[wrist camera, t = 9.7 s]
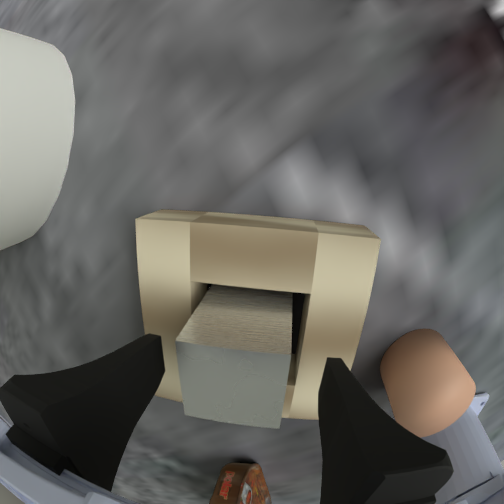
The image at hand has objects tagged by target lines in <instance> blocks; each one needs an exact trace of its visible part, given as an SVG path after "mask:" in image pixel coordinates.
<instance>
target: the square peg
mask: <svg viewBox="0 0 504 504" xmlns="http://www.w3.org/2000/svg"><path fill="white" fill-rule="evenodd" d="M291 343H292V292H287V291H276V290H266V289H256V288H246V287H237V286H228V285H219V284H212V286H211V287H210V289H209V290H208V292H207V293H206V295H205V296H204V298H203V299H202V301H201V302H200V304H199V305H198V307H197V308H196V310H195V311H194V313H193V314H192V316H191V317H190V319H189V320H188V322H187V323H186V325H185V326H184V328H183V329H182V331H181V332H180V334H179V335H178V337H177V338H176V340H175V345H176V354H177V362H178V370H179V378H180V385H181V392H182V399H183V405H184V412H185V415H188V416H193V417H198V418H203V419H208V420H214V421H220V422H226V423H233V424H240V425H248V426H256V427H266V428H277V429H279V428H280V423H281V417H282V411H283V405H284V399H285V393H286V386H287V380H288V373H289V366H290V360H291Z"/></svg>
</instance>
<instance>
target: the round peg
mask: <svg viewBox="0 0 504 504" xmlns="http://www.w3.org/2000/svg"><path fill="white" fill-rule="evenodd" d="M380 374H381V378H382V380H383V383H384V386H385V389H386V392H387V395H388V398H389V401H390V404H391V407H392V410H393V414H394V417H395V420H396V422H397V423H399V424H400V425H401V426H403V427H404V428H405V429H407V430H408V431H410V432H411V433H413V434H415V435H416V436H418V437H420V438H421V437H426V436H430V435H433V434H435V433H437V432H440V431H442V430H443V429H445V428H447V427H448V426H450V425H451V424H453V423H454V422H455V421H456V420H458V419H459V418H460V417H461V416H462V415H463V414H464V412H465V411H466V410H467V409H468V407H469V406H470V404H471V402H472V400H473V398H474V395H475V390H476V387H475V383H474V381H473V379H472V378H471V377H470V375H469V374H468V372H467V371H466V369H465V368H464V366H463V365H462V363H461V362H460V361H459V359H458V358H457V356H456V355H455V354H454V352H453V351H452V349H451V348H450V347H449V345H448V344H447V343H446V341H445V340H444V338H443V337H442V336H441V335H440V334H439V333H438V332H437V331H434V330H432V329H418V330H414V331H411V332H409V333H407V334H405V335H403V336H402V337H400V338H399V339H397V340H396V341H395V342H394V343H393V344H392V345H391V346H390V347H389V348H388V349H387V351H386V352H385V354H384V356H383V358H382V360H381V364H380Z"/></svg>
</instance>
